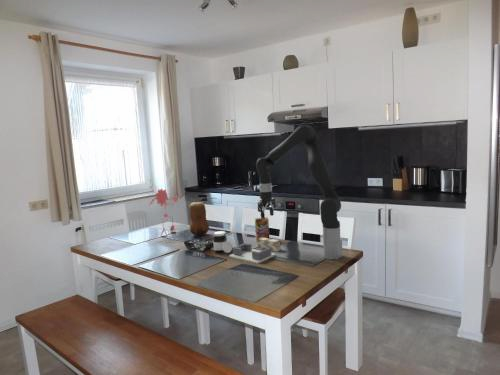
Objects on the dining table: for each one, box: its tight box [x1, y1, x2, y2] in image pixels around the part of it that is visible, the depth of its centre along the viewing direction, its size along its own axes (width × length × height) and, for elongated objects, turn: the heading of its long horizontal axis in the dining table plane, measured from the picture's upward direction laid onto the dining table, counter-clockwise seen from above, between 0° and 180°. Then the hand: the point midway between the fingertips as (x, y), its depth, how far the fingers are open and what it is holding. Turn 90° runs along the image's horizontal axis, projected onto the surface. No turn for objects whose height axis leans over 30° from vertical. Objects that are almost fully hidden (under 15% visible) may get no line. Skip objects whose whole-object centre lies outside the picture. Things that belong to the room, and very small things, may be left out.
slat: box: [257, 237, 281, 252], centre depth 218 cm, size 14×4×6 cm, turn 50°
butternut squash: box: [188, 201, 210, 237], centre depth 259 cm, size 14×13×25 cm
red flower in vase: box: [148, 188, 182, 236], centre depth 270 cm, size 15×26×35 cm, turn 147°
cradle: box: [228, 242, 276, 265], centre depth 207 cm, size 22×16×5 cm
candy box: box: [254, 216, 270, 242], centre depth 236 cm, size 9×4×15 cm, turn 98°
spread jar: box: [212, 230, 233, 254], centre depth 219 cm, size 12×11×12 cm
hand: (267, 216), depth 216 cm, fingers open, 8 cm apart
